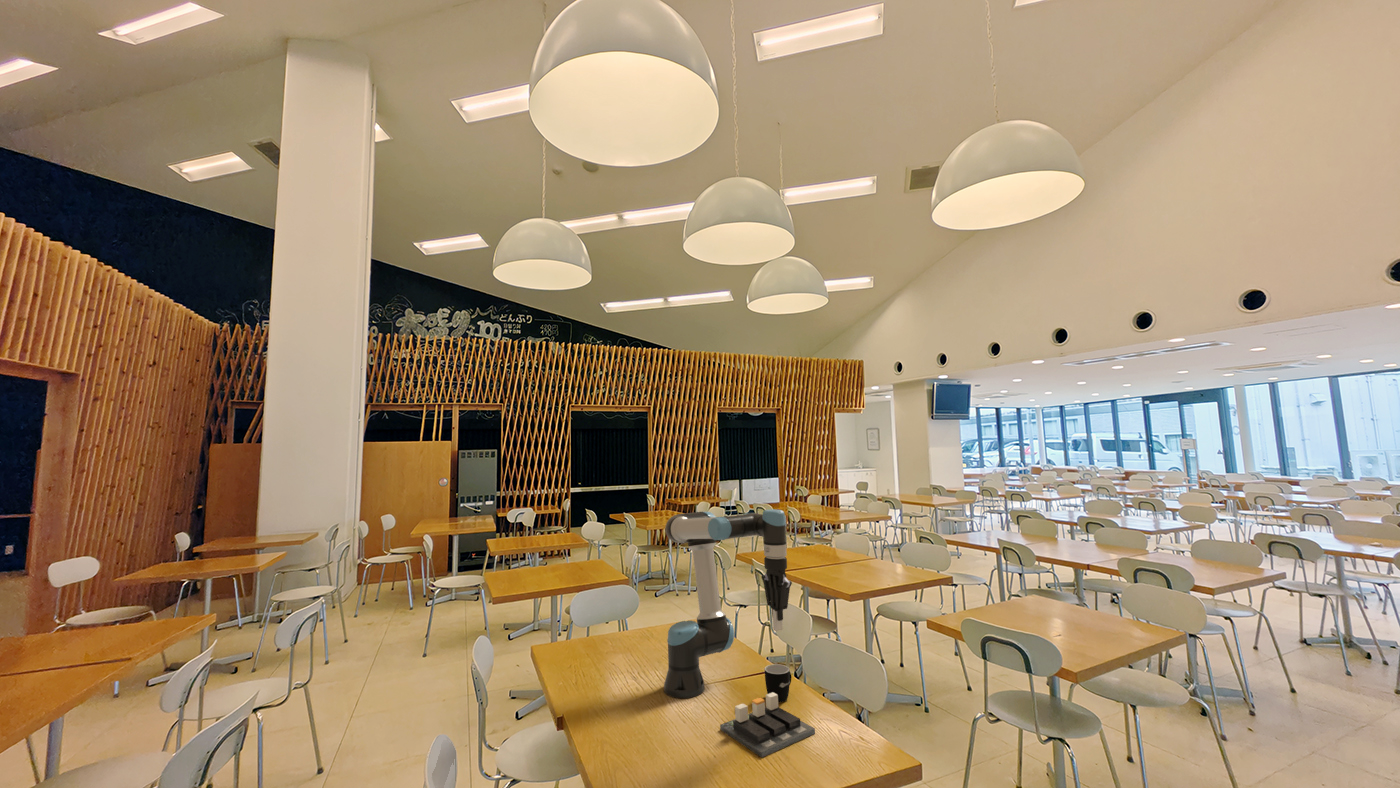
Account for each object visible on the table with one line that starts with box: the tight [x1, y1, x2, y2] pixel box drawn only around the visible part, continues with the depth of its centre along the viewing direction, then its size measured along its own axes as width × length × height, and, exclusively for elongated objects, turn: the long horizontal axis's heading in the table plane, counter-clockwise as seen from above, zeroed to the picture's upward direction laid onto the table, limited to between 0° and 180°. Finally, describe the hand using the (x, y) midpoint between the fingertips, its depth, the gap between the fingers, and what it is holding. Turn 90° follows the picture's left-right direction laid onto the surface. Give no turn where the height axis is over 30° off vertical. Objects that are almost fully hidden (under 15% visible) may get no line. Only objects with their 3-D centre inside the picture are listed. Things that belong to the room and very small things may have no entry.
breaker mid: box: [751, 697, 766, 717], centre depth 171 cm, size 2×3×4 cm
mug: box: [764, 663, 792, 703], centre depth 192 cm, size 12×9×10 cm
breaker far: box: [765, 692, 779, 710], centre depth 176 cm, size 2×3×4 cm
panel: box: [719, 706, 816, 759], centre depth 168 cm, size 20×22×4 cm
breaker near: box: [734, 703, 749, 722], centre depth 168 cm, size 2×3×4 cm
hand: (778, 629), depth 176 cm, fingers closed
